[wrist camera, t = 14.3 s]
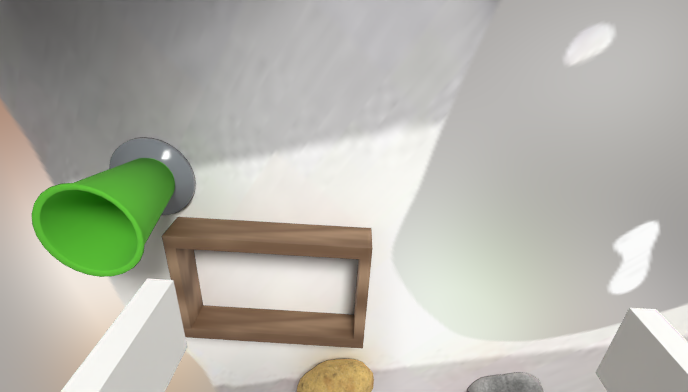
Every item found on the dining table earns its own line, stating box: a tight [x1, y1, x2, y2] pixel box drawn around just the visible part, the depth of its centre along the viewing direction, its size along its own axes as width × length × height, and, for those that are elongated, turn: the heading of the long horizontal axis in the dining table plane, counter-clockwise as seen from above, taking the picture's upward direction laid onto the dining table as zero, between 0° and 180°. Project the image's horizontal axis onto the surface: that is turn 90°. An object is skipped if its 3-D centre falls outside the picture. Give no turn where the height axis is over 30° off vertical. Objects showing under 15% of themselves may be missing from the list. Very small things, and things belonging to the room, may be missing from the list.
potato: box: [297, 359, 374, 392], centre depth 52 cm, size 7×11×6 cm, turn 109°
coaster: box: [110, 137, 196, 215], centre depth 41 cm, size 9×9×1 cm
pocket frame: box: [162, 217, 372, 348], centre depth 45 cm, size 15×22×4 cm
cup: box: [32, 158, 175, 277], centre depth 36 cm, size 9×9×11 cm
